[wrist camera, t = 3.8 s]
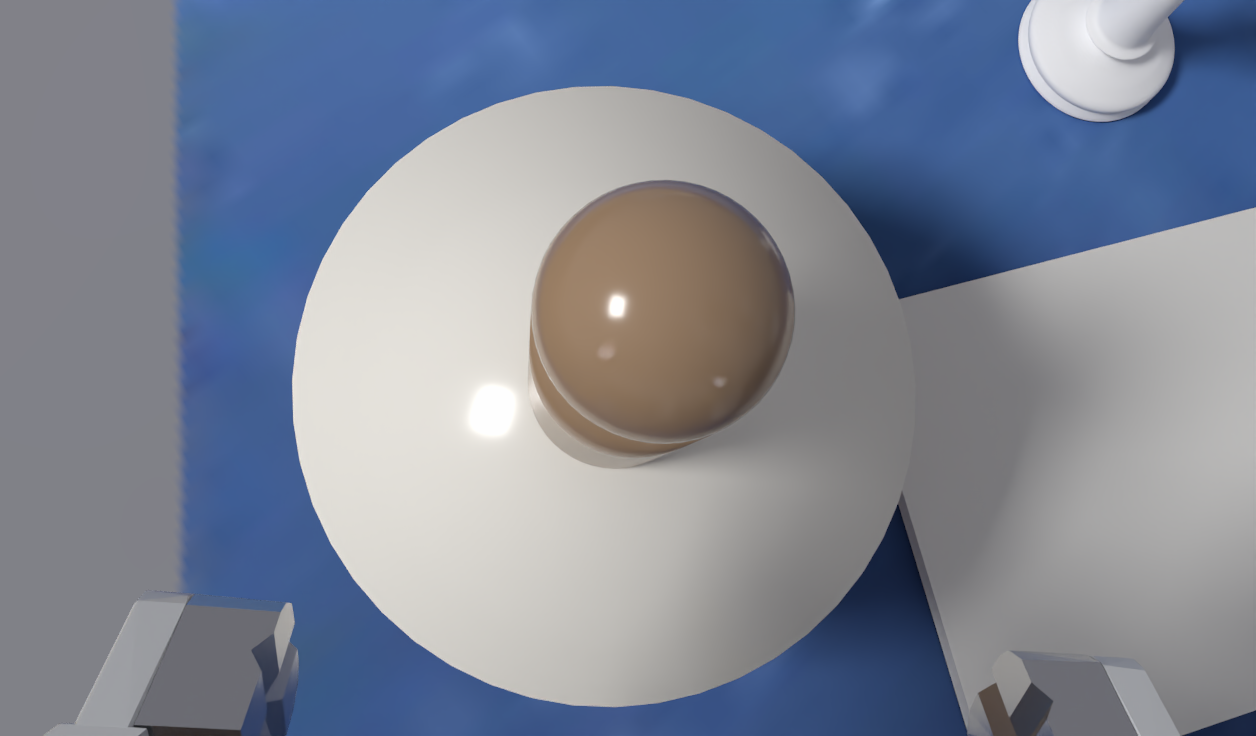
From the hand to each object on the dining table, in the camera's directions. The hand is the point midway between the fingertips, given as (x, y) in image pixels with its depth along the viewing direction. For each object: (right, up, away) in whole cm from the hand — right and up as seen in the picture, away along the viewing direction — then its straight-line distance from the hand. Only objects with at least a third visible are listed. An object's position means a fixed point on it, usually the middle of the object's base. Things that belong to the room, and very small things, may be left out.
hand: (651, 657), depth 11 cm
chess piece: (+15, +13, +20) cm, 28 cm away
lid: (-1, +3, +11) cm, 11 cm away
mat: (+15, 0, +18) cm, 23 cm away
